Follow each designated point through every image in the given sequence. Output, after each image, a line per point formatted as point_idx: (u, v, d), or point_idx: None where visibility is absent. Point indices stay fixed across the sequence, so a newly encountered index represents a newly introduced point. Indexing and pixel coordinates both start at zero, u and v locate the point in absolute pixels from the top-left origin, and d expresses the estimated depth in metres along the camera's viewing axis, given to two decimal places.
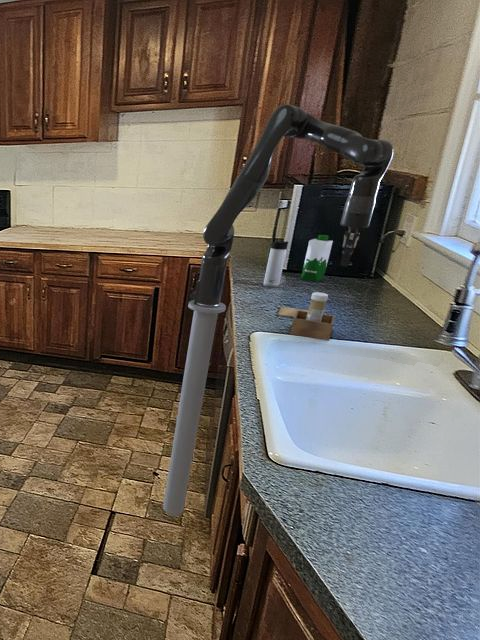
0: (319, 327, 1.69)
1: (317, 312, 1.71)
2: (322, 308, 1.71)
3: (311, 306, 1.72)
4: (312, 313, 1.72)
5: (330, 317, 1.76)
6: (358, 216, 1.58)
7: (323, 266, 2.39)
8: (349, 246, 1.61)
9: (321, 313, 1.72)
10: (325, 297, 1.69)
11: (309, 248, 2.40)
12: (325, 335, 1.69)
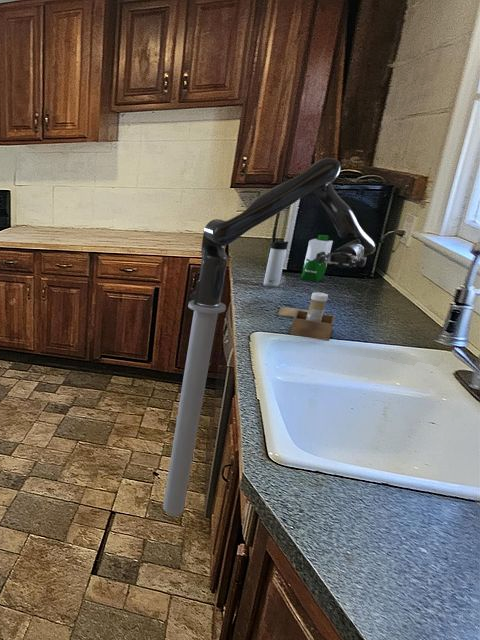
0: (319, 327, 1.69)
1: (317, 312, 1.71)
2: (322, 308, 1.71)
3: (311, 306, 1.72)
4: (312, 313, 1.72)
5: (330, 317, 1.76)
6: (358, 258, 1.83)
7: (323, 266, 2.39)
8: None
9: (321, 313, 1.72)
10: (325, 297, 1.69)
11: (309, 248, 2.40)
12: (325, 335, 1.69)
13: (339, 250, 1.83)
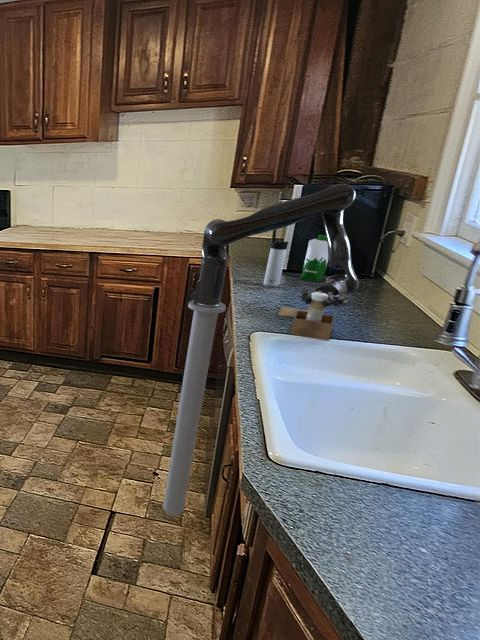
0: (319, 327, 1.69)
1: (317, 312, 1.71)
2: (322, 308, 1.71)
3: (311, 306, 1.72)
4: (312, 313, 1.72)
5: (330, 317, 1.76)
6: (340, 296, 1.79)
7: (323, 266, 2.39)
8: None
9: (321, 313, 1.72)
10: (325, 297, 1.69)
11: (309, 248, 2.40)
12: (325, 335, 1.69)
13: (321, 288, 1.79)
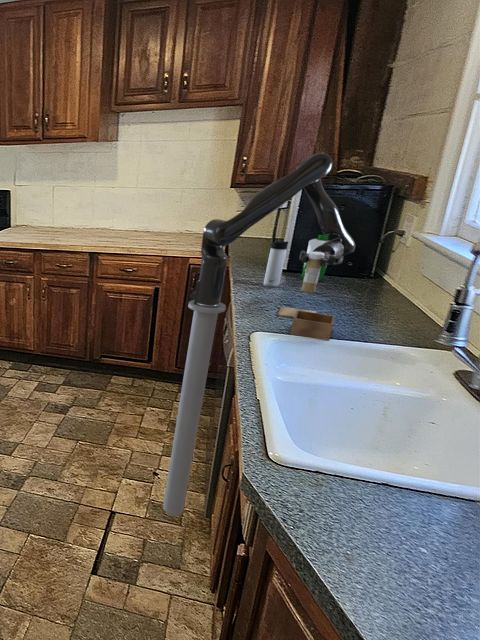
0: (319, 327, 1.69)
1: (314, 271, 1.80)
2: (319, 266, 1.80)
3: (308, 265, 1.81)
4: (310, 271, 1.81)
5: (330, 317, 1.76)
6: None
7: (323, 266, 2.39)
8: None
9: (318, 271, 1.80)
10: (322, 255, 1.78)
11: (309, 248, 2.40)
12: (325, 335, 1.69)
13: (318, 249, 1.87)
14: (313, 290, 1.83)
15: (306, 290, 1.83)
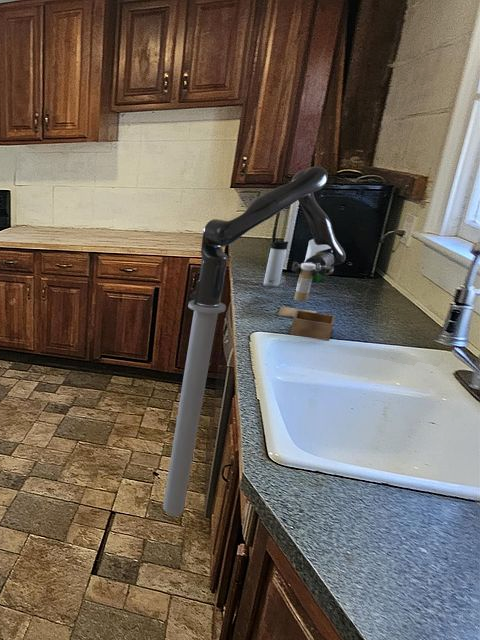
0: (319, 327, 1.69)
1: (306, 281, 1.89)
2: (310, 277, 1.88)
3: (301, 275, 1.90)
4: (302, 281, 1.90)
5: (330, 317, 1.76)
6: (328, 267, 1.96)
7: None
8: None
9: (310, 281, 1.89)
10: (313, 267, 1.87)
11: (309, 248, 2.40)
12: (325, 335, 1.69)
13: (310, 259, 1.96)
14: (305, 299, 1.92)
15: (298, 299, 1.92)
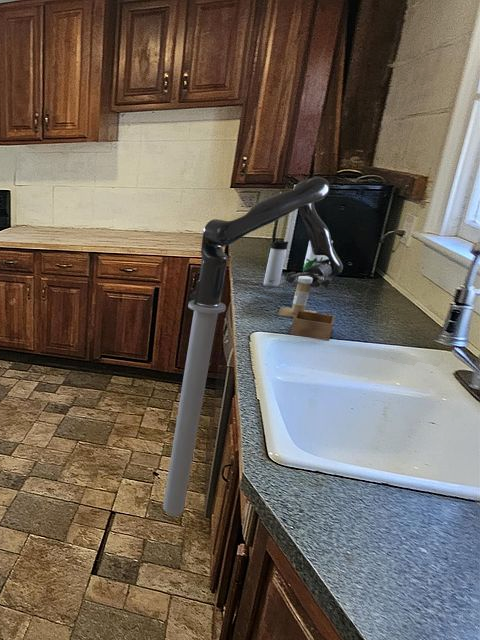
0: (319, 327, 1.69)
1: (303, 294, 1.91)
2: (307, 290, 1.90)
3: (298, 288, 1.92)
4: (299, 294, 1.91)
5: (330, 317, 1.76)
6: (325, 278, 1.98)
7: None
8: None
9: (306, 294, 1.91)
10: (310, 280, 1.89)
11: (309, 248, 2.40)
12: (325, 335, 1.69)
13: (308, 270, 1.98)
14: None
15: (295, 312, 1.94)
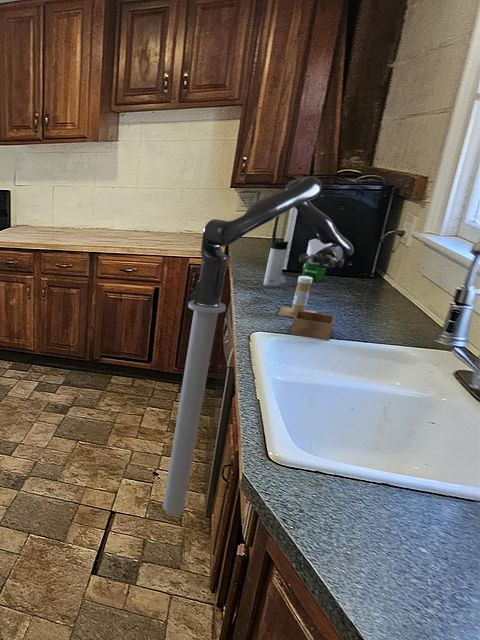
0: (319, 327, 1.69)
1: (303, 294, 1.91)
2: (307, 290, 1.90)
3: (298, 288, 1.92)
4: (299, 294, 1.91)
5: (330, 317, 1.76)
6: (337, 259, 2.04)
7: None
8: None
9: (306, 294, 1.91)
10: (310, 280, 1.89)
11: (309, 248, 2.40)
12: (325, 335, 1.69)
13: (320, 252, 2.04)
14: None
15: (295, 312, 1.94)
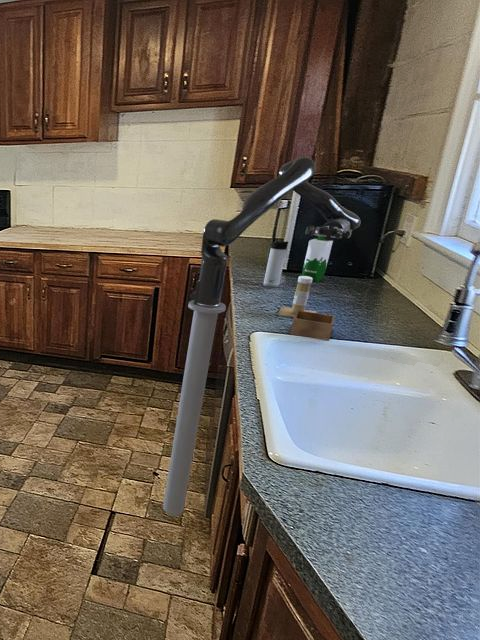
0: (319, 327, 1.69)
1: (303, 294, 1.91)
2: (307, 290, 1.90)
3: (298, 288, 1.92)
4: (299, 294, 1.91)
5: (330, 317, 1.76)
6: (344, 232, 2.00)
7: (323, 266, 2.39)
8: None
9: (306, 294, 1.91)
10: (310, 280, 1.89)
11: (309, 248, 2.40)
12: (325, 335, 1.69)
13: (327, 224, 2.00)
14: None
15: (295, 312, 1.94)
